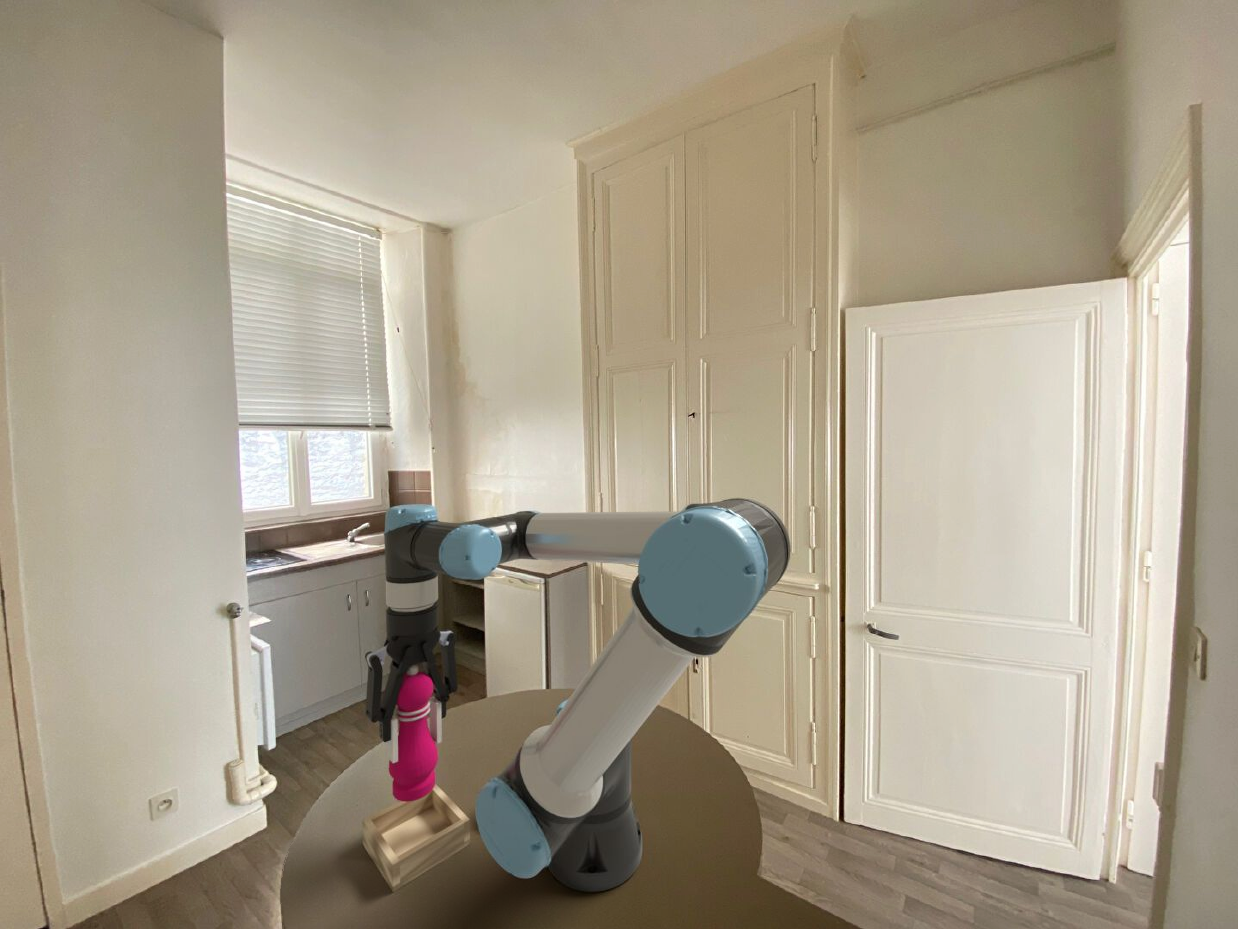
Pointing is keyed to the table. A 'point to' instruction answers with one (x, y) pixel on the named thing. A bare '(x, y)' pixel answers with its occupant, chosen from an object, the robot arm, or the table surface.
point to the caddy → (415, 836)
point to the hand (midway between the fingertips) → (414, 748)
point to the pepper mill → (414, 739)
